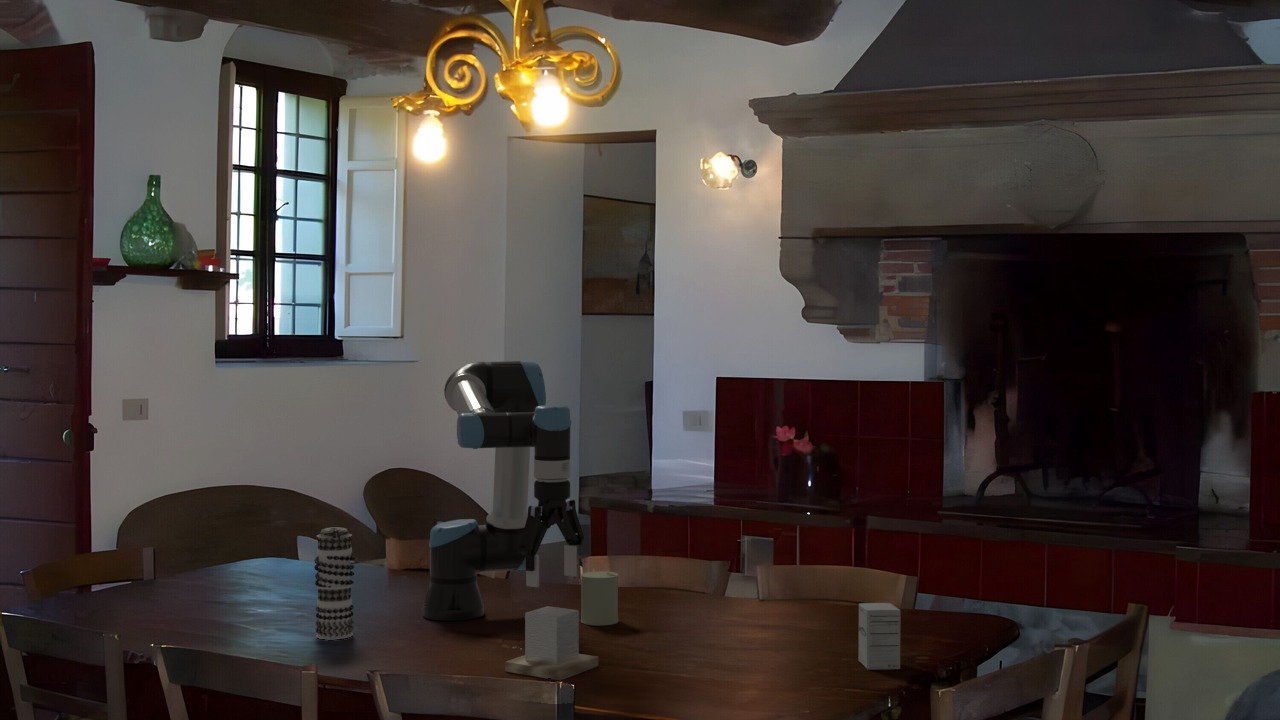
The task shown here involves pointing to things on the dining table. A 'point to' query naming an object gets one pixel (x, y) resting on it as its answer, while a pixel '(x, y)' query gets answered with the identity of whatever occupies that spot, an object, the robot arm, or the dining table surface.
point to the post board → (552, 667)
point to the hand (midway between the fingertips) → (551, 581)
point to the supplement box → (879, 636)
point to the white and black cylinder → (334, 584)
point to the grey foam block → (551, 635)
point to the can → (599, 598)
